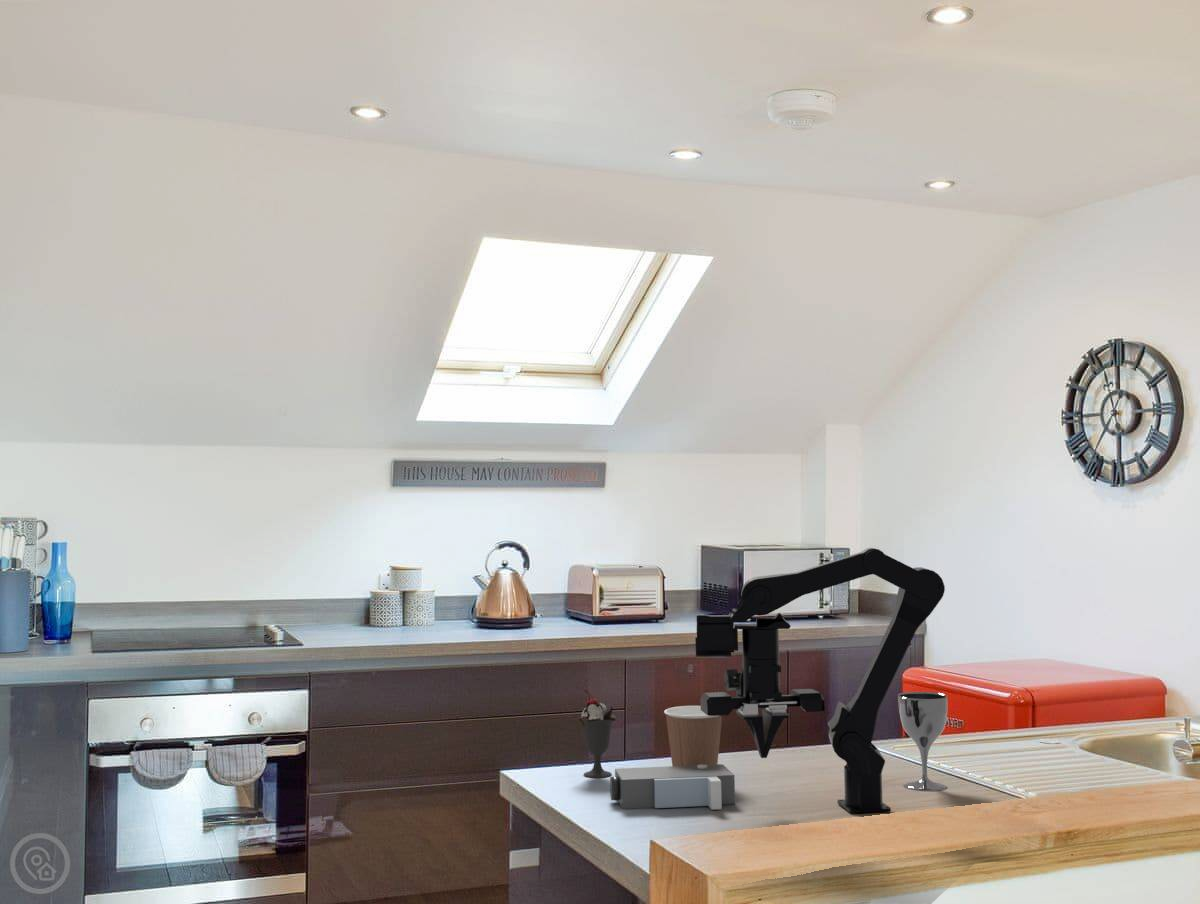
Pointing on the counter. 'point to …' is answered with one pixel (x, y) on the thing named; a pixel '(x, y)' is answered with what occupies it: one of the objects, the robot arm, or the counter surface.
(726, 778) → the sliding door box
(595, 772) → the sundae
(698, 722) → the coffee cup
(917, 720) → the wine glass
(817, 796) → the counter surface
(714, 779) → the side door
